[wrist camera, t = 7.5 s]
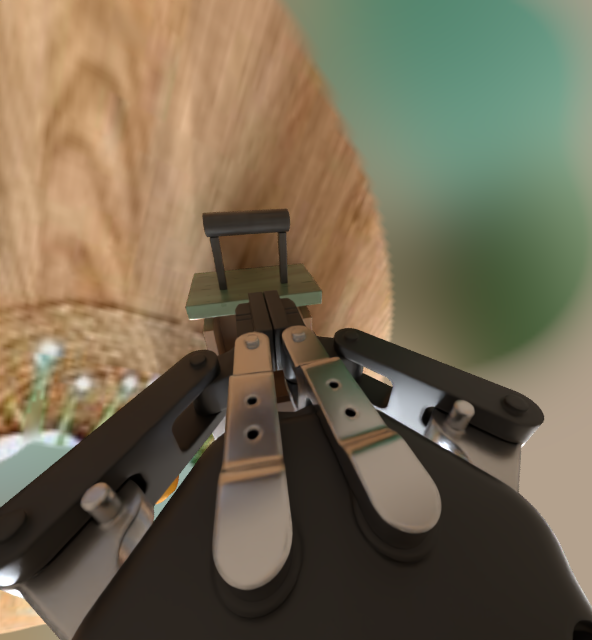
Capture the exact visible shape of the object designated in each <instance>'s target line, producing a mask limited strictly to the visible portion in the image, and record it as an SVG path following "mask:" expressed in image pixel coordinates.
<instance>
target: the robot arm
mask: <svg viewBox="0 0 592 640" xmlns="http://www.w3.org/2000/svg"><path fill="white" fill-rule="evenodd" d="M248 298H249V303H241V304H238V306H237V307H236V309H235V315H236V328H237V339H236V341H235V346H234V347H233V348H232V349H231V350H229V351H227V352H225V353H223V354H221V355H218V356H217V355H216V353H214V352H213V351H210V350H198V351H194V352H192V353H190V354H188V355H186V356H185V357H184V358H182V359H181V360H180V361H179V362H177V363H176V364H175V365H174V366H173V367H171V368H170V369H169V370H168V371H166V372H165V373H164V374H163V375H162V376H160V377H159V378H158V379H157V380H155V381H154V382H153V383H152V384H151V385H149V386H148V387H147V388H146V389H144V390H143V391H142V392H141V393H140V394H138V395H137V396H136V397H135V398H133V399H132V400H131V401H130V402H129V403H127V404H126V405H125V406H124V407H123V408H121V409H120V410H119V411H118V412H116V413H115V414H114V415H113V416H112V417H110V418H109V419H108V420H107V421H105V422H104V423H103V424H102V425H101V426H99V427H98V428H97V429H96V430H94V431H93V432H92V433H91V434H90V435H88V436H87V437H86V438H85V439H83V440H82V441H81V442H80V443H79V444H77V445H76V446H75V447H74V448H72V449H71V450H70V451H69V452H68V453H67V454H65V455H64V456H63V457H62V458H60V459H59V460H58V461H57V462H55V463H54V464H53V465H52V466H50V467H49V468H48V469H47V470H46V471H44V472H43V473H42V474H41V475H40V476H39V477H37V478H36V479H35V480H33V481H32V482H31V483H30V484H29V485H27V486H26V487H25V488H24V489H23V490H21V491H20V492H19V493H18V494H16V495H15V496H14V497H13V498H11V499H10V500H9V501H8V502H7V503H5V504H4V505H3V506H2V507H0V590H2V591H5V592H7V593H10V594H13V595H15V596H18V597H20V598H23V599H25V600H26V601H27V602H28V603H29V604H30V606H31V607H32V608H33V609H34V610H35V611H36V612H37V614H38V615H39V616H40V617H41V618H42V619H43V620H44V622H45V623H46V624H47V625H48V626H49V627H50V628H51V629H52V631H53V632H54V633H55V634H56V635H57V636H58V638H59V639H60V640H592V606H591V605H590V603H589V601H588V600H587V598H586V596H585V594H584V592H583V591H582V589H581V587H580V586H579V584H578V582H577V580H576V578H575V576H574V574H573V572H572V570H571V568H570V565H569V563H568V561H567V558H566V556H565V554H564V551H563V549H562V547H561V545H560V543H559V541H558V539H557V538H556V536H555V534H554V532H553V531H552V529H551V528H550V526H549V525H548V524H547V522H546V521H545V519H544V518H543V517H542V516H541V515H540V513H539V512H538V511H537V510H536V509H535V508H534V507H533V506H532V505H531V504H530V503H529V502H528V501H527V500H526V499H525V498H524V497H523V496H521V495H520V494H519V477H520V460H521V447H522V446H523V445H524V444H525V443H526V442H527V440H528V439H529V438H530V437H531V436H532V434H533V433H534V432H535V431H536V430H537V429H538V427H539V426H540V425H541V424H542V423H543V421H544V415H543V413H542V411H541V409H540V408H539V407H538V406H537V404H535V403H534V402H533V401H532V400H531V399H529V398H527V397H526V396H524V395H522V394H520V393H518V392H516V391H513V390H511V389H508V388H506V387H503V386H500V385H498V384H495V383H493V382H490V381H488V380H485V379H483V378H480V377H477V376H475V375H472V374H470V373H467V372H464V371H462V370H460V369H457V368H454V367H452V366H449V365H447V364H444V363H442V362H439V361H437V360H434V359H431V358H429V357H426V356H424V355H421V354H418V353H416V352H413V351H411V350H408V349H406V348H403V347H400V346H398V345H396V344H393V343H390V342H388V341H385V340H383V339H380V338H378V337H375V336H372V335H370V334H367V333H365V332H362V331H360V330H357V329H352V328H345V329H341V330H339V331H337V332H336V333H335V335H334V338H328V337H319V336H316V335H315V333H314V332H313V330H312V329H310V328H308V327H306V326H305V324H304V322H303V320H302V318H301V315H300V313H299V311H298V309H297V307H296V305H295V303H294V302H293V301H292V300H291V299H289V298H281V299H280V296H279V294H278V291H277V290H270V291H263V293H262V292H253V293H248ZM275 364H276V367H275ZM363 366H364V367H366V368H368V369H370V370H372V371H374V372H376V373H378V374H381V375H383V376H385V377H387V378H388V379H389V380H390V381H391V382H392V385H393V387H391V386H389V385H387V384H385V383H382V382H380V381H378V380H376V379H374V378H372V377H370V376H368V375H366V374H364V373H362V372H363ZM276 368H277V371H278V370H283V373H284V383H285V386H286V389H287V391H288V394H289V397H290V399H291V402H292V405H293V408H294V410H295V411H294V412H281V411H278V407H277V399H276V390H275V382H274V373H273V371H276ZM225 416H226V423H225V433H224V434H222V435H221V436H219V437H218V438H217V439H216V440H215V441H214V442H213V443H212V444H211V445H210V446H209V447H208V448H207V449H206V450H205V452H204V453H203V454H202V456H201V457H200V458H199V460H198V461H197V463H196V464H195V465H194V467H193V468H192V469H191V471H190V472H189V474H188V475H187V476H186V478H185V479H184V481H183V482H182V483H181V485H180V486H179V487H178V489H177V490H176V492H175V493H174V494H173V496H172V497H171V499H170V500H169V501H168V503H167V504H166V505H165V507H164V508H163V510H162V511H161V512H160V514H159V515H158V517H157V518H156V519H155V520H154V522H153V519H154V508H153V507H154V505H155V504H156V503H157V502H158V500H159V499H160V498H161V497H162V495H163V494H164V493H165V492H166V490H167V489H168V488H169V487H170V485H171V484H172V483H173V482H174V480H175V479H176V478H177V476H178V475H179V474H180V473H181V471H182V470H183V469H184V468H185V466H186V465H187V464H188V463H189V461H190V460H191V459H192V458H193V456H194V455H195V454H196V453H197V451H198V450H199V449H200V447H201V446H202V445H203V444H204V442H205V441H206V440H207V439H208V437H209V436H210V435H211V434H212V432H213V431H214V430H215V429H216V427H217V426H218V425H219V424H220V422H221V421H222V420H223V418H224V417H225Z"/></svg>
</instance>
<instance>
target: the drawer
mask: <svg viewBox="0 0 592 640" xmlns="http://www.w3.org/2000/svg"><path fill="white" fill-rule="evenodd" d="M202 218H203V225H204V230H205V234H206V236H207V237H210V242H211V247H212V252H213V257H214V263H215V268H216V272H206V273H195V274H194V276H193V280H192V284H191V288H190V292H189V295H188V299H187V303H186V310H187V314H188V317H189V320H194V319H202V318H205V319H204V327H203V334H204V338H205V342H206V346H207V350H210V351H213V352H214V353H216V355H217V356H218V355H221V354H223V353H225V352H227V351H229V350H231V349H232V348H233V347H234V346H235V341H236V339H237V328H236V315H235V309H236V307H237V306H238V304H241V303H249V298H248V293H253V292H262V293H263V291H270V290H277V291H278V294H279V296H280V299H281V298H289V299H291V300H292V301H293V302H294V303H295V305H296V307H297V309H298V311H299V313H300V315H301V318H302V320H303V322H304V324H305V326H306V327H308V328H310V329H312V316H311V314H310V312H309V310H308V308H307V307H306V305H313V304H321V303H322V290H321V288H320V287H319V286H318V284H317V283H316V281H315V280H314V279H313V277H312V276H311V274H310V273H309V272H308V270H307V269H306V267H305V266H304V265H303V264H291V265H287V241H286V232H288V231H289V229H290V216H289V212H288V209H271V210H252V211H232V212H213V213H203V215H202ZM275 232H277V233H278V254H279V266H270V267H259V268H249V269H238V270H227V271H225V270H224V265H223V259H222V253H221V247H220V241H219V236H232V235H246V234H261V233H275ZM275 367H276V364H275ZM273 373H274V382H275V390H276V397H281V396H287V395H289V394H288V391H287V389H286V386H285V383H284V373H283V370H278V371H277V368H276V371H273Z"/></svg>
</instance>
